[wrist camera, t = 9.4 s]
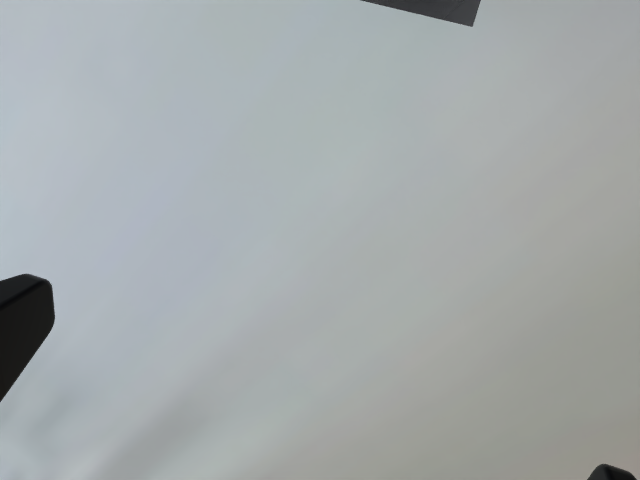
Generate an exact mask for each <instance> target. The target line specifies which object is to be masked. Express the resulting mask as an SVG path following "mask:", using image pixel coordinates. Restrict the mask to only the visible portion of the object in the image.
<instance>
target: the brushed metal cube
mask: <svg viewBox="0 0 640 480" xmlns="http://www.w3.org/2000/svg"><path fill="white" fill-rule="evenodd" d="M362 1H366V2H370V3H374V4H379V5H383V6H387V7H391V8H395V9H400V10H404V11H408V12H412V13H416V14H421V15H425V16H429V17H433V18H437V19H442V20H446V21H450V22H454V23H458V24H463V25H467V26H471V27H472V26H473V23H474V20H475V17H476V14H477V10H478V7H479V4H480V1H481V0H362Z"/></svg>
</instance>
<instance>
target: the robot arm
mask: <svg viewBox="0 0 640 480" xmlns="http://www.w3.org/2000/svg"><path fill="white" fill-rule="evenodd" d="M54 320H55V312H54V302H53V291H52V285H51V284H50V282H49V281H48V280H46V279H43V278H40V277H37V276H34V275H31V274H22V275H18V276H15V277H12V278H8V279H5V280H2V281H0V402H1V401H2V399H3V398H4V397H5V395H6V394H7V392H8V391H9V390H10V388H11V387H12V385H13V384H14V383H15V381H16V380H17V378H18V377H19V375H20V374H21V373H22V371H23V370H24V368H25V367H26V366H27V364H28V363H29V361H30V360H31V358H32V357H33V356H34V354H35V353H36V351H37V350H38V349H39V347H40V346H41V344H42V343H43V341H44V340H45V339H46V337H47V336H48V334H49V333H50V331H51V329H52V327H53V325H54ZM587 480H637V479H636V478H635V477H634V476H633V475H632V474H631V473H630V472H628V471H626V470H623V469H620V468H617V467H614V466H611V465H608V464H600V465H599V466H597V467H596V468H595V470H594V471H593V472H592V474H591V475H590V477H589V478H588V479H587Z"/></svg>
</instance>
